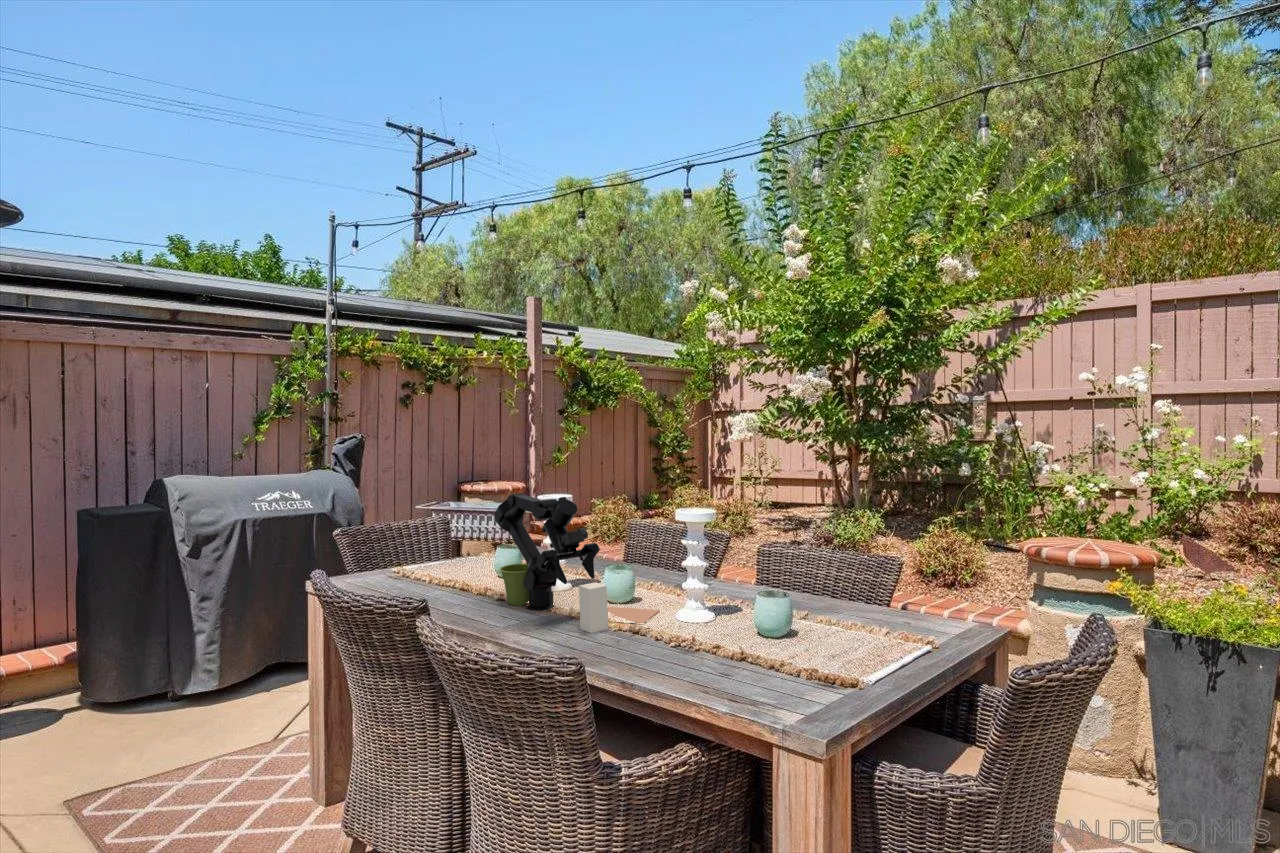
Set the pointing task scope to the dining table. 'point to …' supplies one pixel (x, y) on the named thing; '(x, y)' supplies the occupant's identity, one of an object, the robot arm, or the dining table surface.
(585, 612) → the cream block
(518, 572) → the plant pot
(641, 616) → the terracotta mat
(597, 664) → the dining table surface
